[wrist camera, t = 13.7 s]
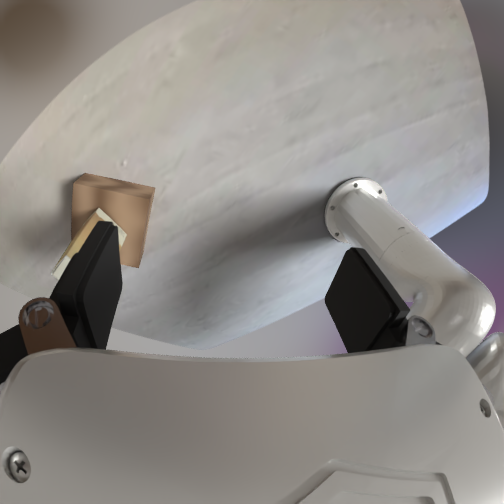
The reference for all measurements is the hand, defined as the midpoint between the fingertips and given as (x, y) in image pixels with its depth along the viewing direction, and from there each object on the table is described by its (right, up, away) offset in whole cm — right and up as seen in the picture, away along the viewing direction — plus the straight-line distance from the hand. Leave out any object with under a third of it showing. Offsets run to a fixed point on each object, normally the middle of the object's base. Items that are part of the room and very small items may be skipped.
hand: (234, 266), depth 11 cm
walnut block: (-21, +7, +29) cm, 37 cm away
